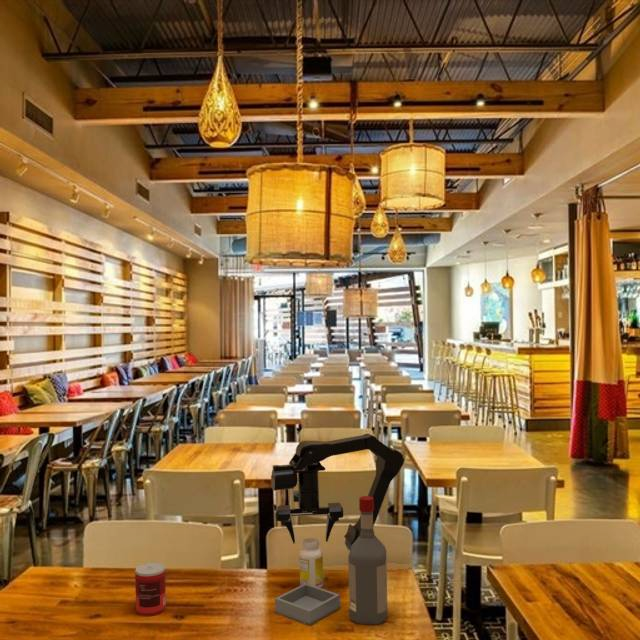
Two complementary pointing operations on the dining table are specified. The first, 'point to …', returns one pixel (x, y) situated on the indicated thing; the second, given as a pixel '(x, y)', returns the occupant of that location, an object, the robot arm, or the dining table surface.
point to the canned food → (150, 589)
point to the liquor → (367, 571)
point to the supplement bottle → (311, 563)
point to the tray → (307, 603)
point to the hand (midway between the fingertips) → (310, 542)
